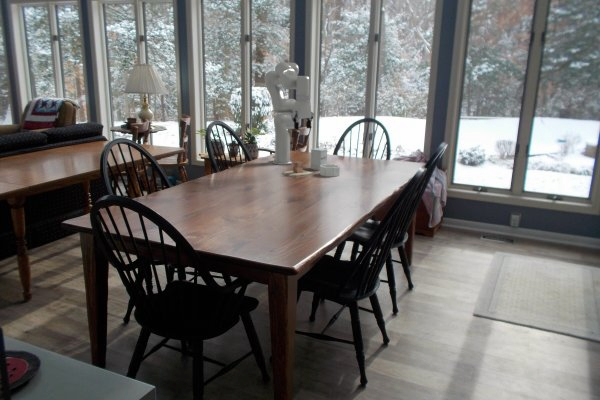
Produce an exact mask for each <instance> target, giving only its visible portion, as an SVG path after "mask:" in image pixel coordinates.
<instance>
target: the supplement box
mask: <svg viewBox="0 0 600 400" xmlns="http://www.w3.org/2000/svg"><path fill="white" fill-rule="evenodd" d="M323 164H328V149H327V148H323V147H322V148H321V147H316V148H312V149H310V170H315V171H320V165H323Z"/></svg>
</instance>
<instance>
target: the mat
mask: <svg viewBox="0 0 600 400" xmlns="http://www.w3.org/2000/svg"><path fill="white" fill-rule="evenodd" d="M280 174H281V175H283V174H282V172H281V173H280ZM284 175H285V176H288V177H292V178H294V179H295V178H296V179H298V178H300V177H293V176H290V175H286V174H284ZM310 176H311V175H308V176H307V177H310ZM313 176H315V173H314V175H313ZM304 177H306V176H303V177H302V178H304Z"/></svg>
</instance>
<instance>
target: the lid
mask: <svg viewBox="0 0 600 400" xmlns="http://www.w3.org/2000/svg"><path fill="white" fill-rule="evenodd" d="M292 164H293V165H292V170H286V171H282V172H281V173H282V174H281V175H285V174H286V175H285V176H288V175H290V176H289V177H292V176H293V177H292V178H295V177H299V178H304V177H303V176H305V177H309V176H308V175H310V176H315V175H314V174H315V172H312V171H308V170H304V162H303V161H300V160H299V161H292Z"/></svg>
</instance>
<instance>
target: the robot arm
mask: <svg viewBox="0 0 600 400" xmlns="http://www.w3.org/2000/svg"><path fill="white" fill-rule="evenodd" d="M274 68H275V69H274V70H271V71H270V70H269V71H268V72H266V73H265V75H264V82H265V88H266V89H267V91H268V93H269V96H270V101H271V104H272V109H273V111H274V113H275V114H276V115H275V116H274V118H273V125H274V135H275V137H274V144H275V145H274V146H275V147H274V150H275V151H274V155H273V156H272V158H273V159H274V160H273V161H272V164H274V165H278V166H279V165H281V166H283V165H284V166H285V165H291V164H293V160H291V135H290V133H289V132H288V130H290V129H294V130H299V128H301V125H302V119H305V120H306V129H311V128H312V121H313V119H314V116H315V113H314V112H313V111H312V105H311V101H310V99H311V96H310V77H309V76H307V75H299V72H300V69H299V68H300V67H299V65H298V64H297V63H296V62H285V61H284V62H278V63H277V64H276V65H275V67H274ZM279 85H280V86H281V87H283V89H286V90H295V94H296V95H295V99H294V98H286V97H285V95H284V92H283V90H282V89H281V88H280V86H279Z"/></svg>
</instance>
